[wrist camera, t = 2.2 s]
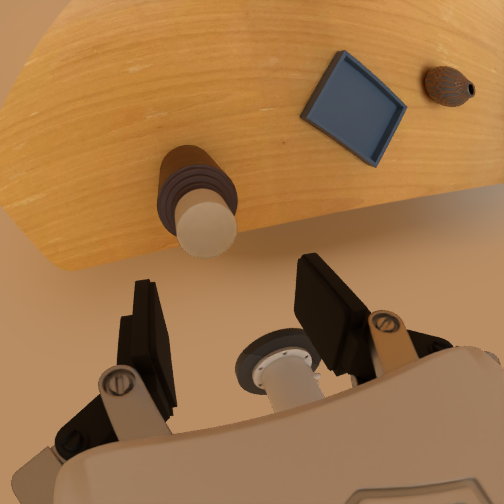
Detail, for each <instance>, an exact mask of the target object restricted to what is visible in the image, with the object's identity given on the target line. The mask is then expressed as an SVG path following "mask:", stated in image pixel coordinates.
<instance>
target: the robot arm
mask: <svg viewBox="0 0 504 504" xmlns="http://www.w3.org/2000/svg"><path fill="white" fill-rule="evenodd" d="M294 312H295V316H296V318H297V319H298V321H299V323H300V324H301V326H302V327H303V329H304V331H305V332H306V334H307V336H308V337H309V339H310V340H311V342H312V344H313V345H314V347H315V349H316V350H317V352H318V353H319V355H320V357H321V358H322V360H323V361H324V363H325V365H326V366H327V368H328V369H329V370H330V371H331V370H333V372H334V373H335V375H336V376H340V375H343V374H345V373H348V374H350V375H351V382H352V386H353V388H351V389H348V390H345V391H343V392H340V393H337V394H334V395H332V396H329V397H326V398H325V396H324V395H323V393H322V391H321V389H320V388H319V381H318V380H315V379H320V378H321V374H320V373H313V371H312V369H311V364H312V358H311V356H310V354H309V353H308V351H307V350H305V349H304V348H301V347H285V348H281V349H278V350H275V351H273V352H271V353H269V354H267V355H266V356H265V357H263V358H262V359H261V360H260V361H259V362H258V363H257V364H256V365H255V367H254V369H253V372H252V379H253V382H254V383H255V385H256V386H257V387H259V388H261V389H264V390H265V391H266V393H267V395H268V398H269V400H270V403H271V405H272V408H273V410H274V412H275V413H274V414H270V415H267V416H262V417H259V418H255V419H250V420H246V421H242V422H238V423H233V424H228V425H223V426H219V427H213V428H208V429H202V430H196V431H190V432H184V433H177V434H172V432H171V431H170V429H169V427H168V426H167V424H166V421H167V420H168V419H169V418H170V416H173V407H177V400H176V394H175V386H174V378H173V370H172V363H171V362H172V361H171V353H170V343H169V336H168V332H167V328H166V324H165V320H164V316H163V312H162V308H161V304H160V301H159V296H158V292H157V288H156V283H155V282H150V280H149V279H146V280H139V281H136V282H135V291H134V302H133V314H132V315H129V316H122V317H121V320H120V330H119V341H118V353H117V366H113V367H111V368H109V369H107V370H106V371H105V372H104V373H103V374H102V375H101V377H100V379H99V382H98V387H99V392H100V394H99V395H98V396H97V397H96V398H95V399H93V400H92V401H91V402H90V403H89V404H88V405H87V406H86V407H85V408H84V409H82V410H81V411H80V412H79V413H78V414H77V415H76V416H74V417H73V418H72V419H71V420H70V421H69V422H68V423H67V424H65V425H64V426H63V427H62V428H61V429H60V430H59V431H58V433H57V435H56V438H55V445H54V446H53V447H51V448H50V447H49V446H47V447H46V448H45V449H43V450H42V451H41V452H40V453H39V454H38V455H36V456H35V457H34V458H32V459H31V460H30V461H29V462H28V463H26V464H25V465H24V466H23V467H21V468H20V469H19V470H18V471H16V472H15V474H14V475H13V477H12V480H11V486H12V489H13V492H14V494H15V496H16V497H17V499H18V500H19V502H20V503H21V504H504V369H503V368H502V367H501V365H500V362H499V359H498V358H497V357H496V356H495V355H494V354H492V353H490V352H486V351H483V350H481V349H479V348H476V347H471V346H462V347H460V346H456V347H453V345H452V344H451V343H450V342H448V341H447V340H445V339H443V338H440V337H435V336H431V335H427V334H423V333H419V332H415V331H411V330H407V329H406V327H405V325H404V323H403V321H402V319H401V318H400V317H399V316H398V315H397V314H395V313H393V312H390V311H386V310H379V311H375V312H373V313H371V312H370V311H369V310H368V309H367V307H366V306H365V305H364V303H363V302H362V301H361V300H360V299H359V298H358V297H357V296H356V295H355V294H354V293H353V291H352V290H351V289H350V288H349V287H348V286H347V285H346V284H345V283H344V282H343V281H342V280H341V279H340V278H339V276H338V275H337V274H336V273H335V272H334V271H333V270H332V269H331V268H330V267H329V266H328V265H327V264H326V263H325V262H324V261H323V260H322V258H321V257H320V256H319V255H318V254H317V253H310V254H304V255H302V257H301V258H300V259H298V263H297V277H296V290H295V303H294Z"/></svg>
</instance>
